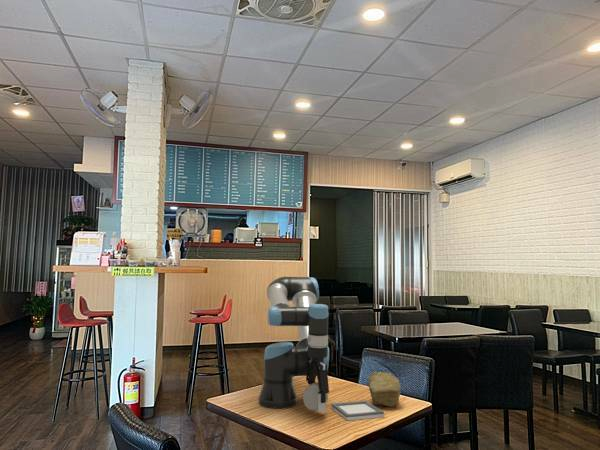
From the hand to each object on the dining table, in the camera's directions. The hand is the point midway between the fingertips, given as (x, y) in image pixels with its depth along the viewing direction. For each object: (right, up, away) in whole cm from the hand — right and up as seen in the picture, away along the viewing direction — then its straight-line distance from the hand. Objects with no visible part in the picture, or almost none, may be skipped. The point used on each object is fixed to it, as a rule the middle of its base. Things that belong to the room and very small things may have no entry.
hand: (316, 406), depth 165 cm
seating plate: (+15, -4, +3) cm, 16 cm away
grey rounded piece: (0, -1, 0) cm, 1 cm away
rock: (+29, -5, +15) cm, 33 cm away
